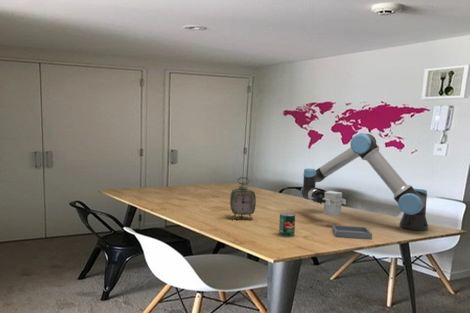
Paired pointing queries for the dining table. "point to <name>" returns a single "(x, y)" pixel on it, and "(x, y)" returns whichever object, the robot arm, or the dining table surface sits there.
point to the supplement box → (333, 203)
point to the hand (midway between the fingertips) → (337, 202)
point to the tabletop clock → (242, 201)
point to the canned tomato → (287, 224)
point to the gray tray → (351, 232)
